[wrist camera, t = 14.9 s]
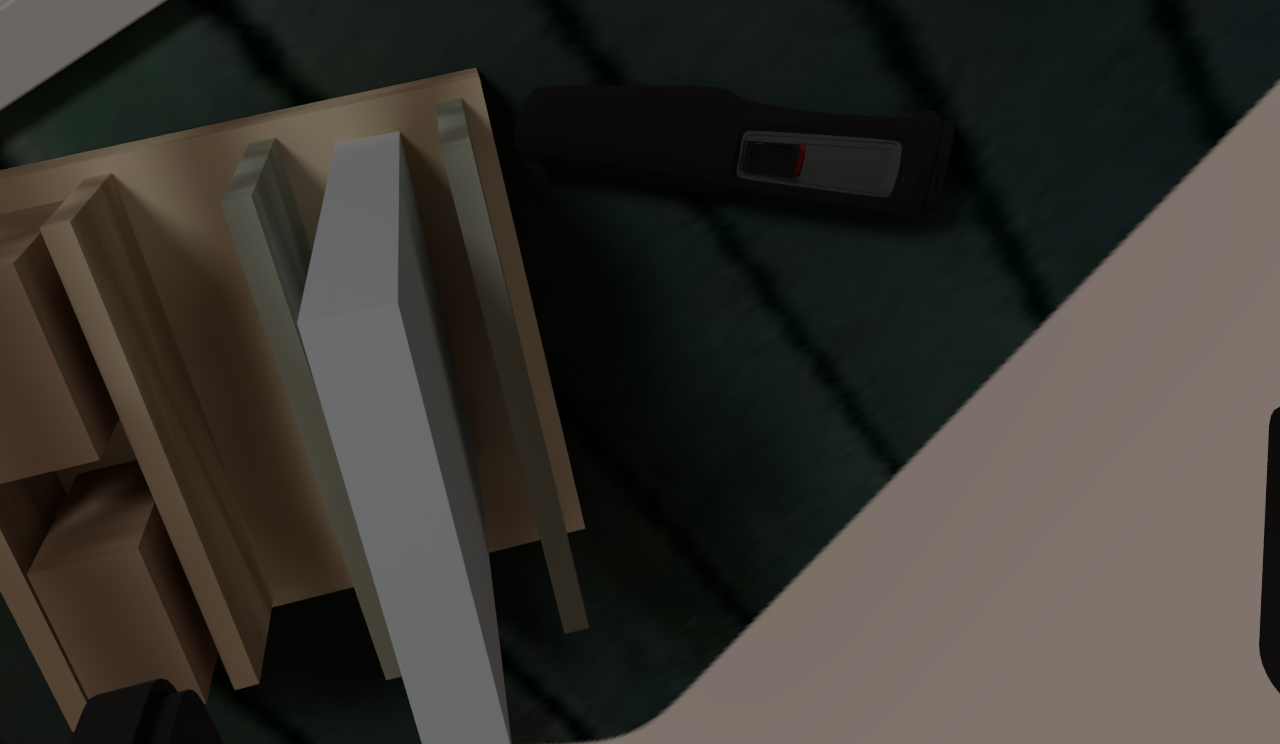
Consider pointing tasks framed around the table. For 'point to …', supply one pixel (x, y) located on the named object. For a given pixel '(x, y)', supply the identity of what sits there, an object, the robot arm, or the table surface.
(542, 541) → the rack
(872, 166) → the electric trimmer
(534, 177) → the table surface
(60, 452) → the offcut
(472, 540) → the sheet
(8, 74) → the baseboard
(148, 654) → the offcut
